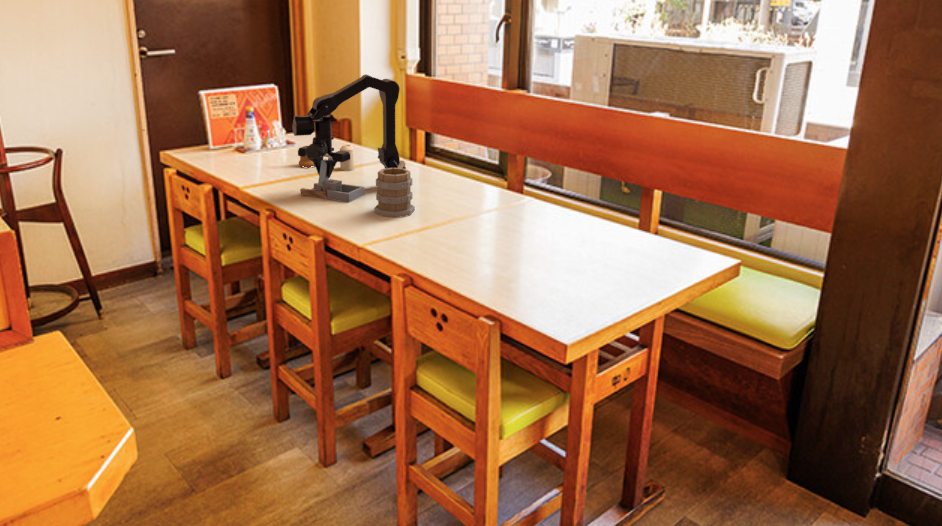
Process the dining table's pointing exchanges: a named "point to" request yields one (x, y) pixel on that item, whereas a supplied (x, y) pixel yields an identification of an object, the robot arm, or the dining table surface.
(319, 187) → the grey notched beam
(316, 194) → the slot rails
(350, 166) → the candle
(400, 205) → the tankard
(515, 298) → the dining table surface
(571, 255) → the dining table surface
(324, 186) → the dice cube
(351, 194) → the box
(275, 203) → the dining table surface
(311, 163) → the ornamental finial
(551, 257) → the dining table surface
